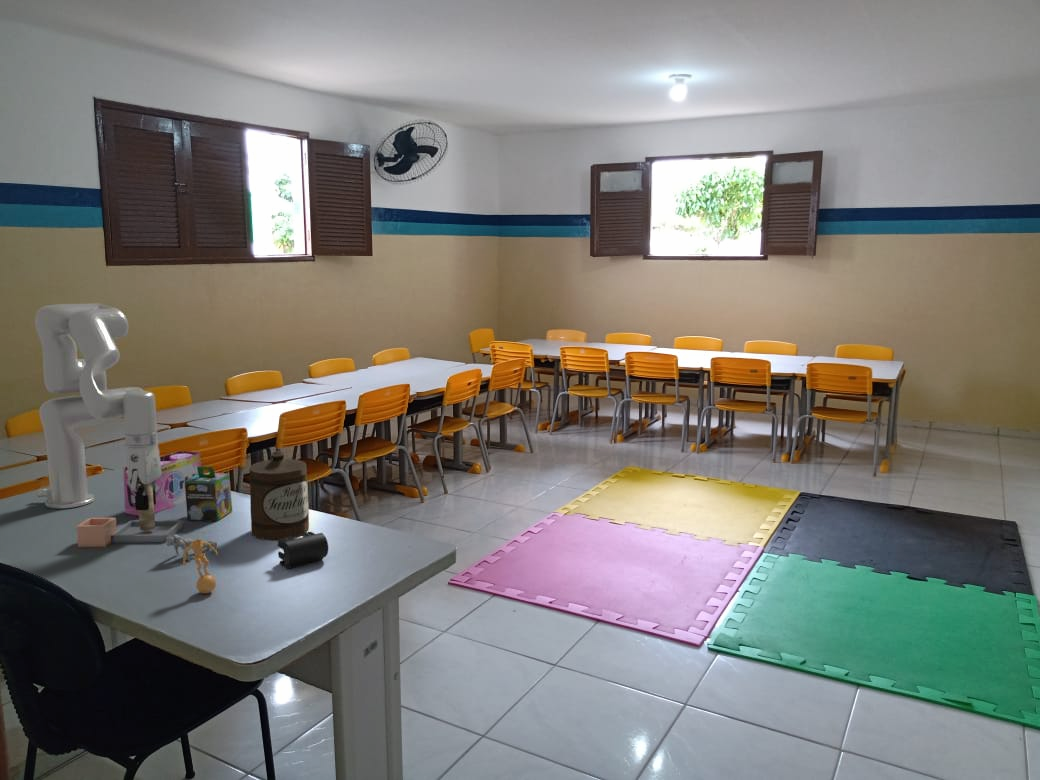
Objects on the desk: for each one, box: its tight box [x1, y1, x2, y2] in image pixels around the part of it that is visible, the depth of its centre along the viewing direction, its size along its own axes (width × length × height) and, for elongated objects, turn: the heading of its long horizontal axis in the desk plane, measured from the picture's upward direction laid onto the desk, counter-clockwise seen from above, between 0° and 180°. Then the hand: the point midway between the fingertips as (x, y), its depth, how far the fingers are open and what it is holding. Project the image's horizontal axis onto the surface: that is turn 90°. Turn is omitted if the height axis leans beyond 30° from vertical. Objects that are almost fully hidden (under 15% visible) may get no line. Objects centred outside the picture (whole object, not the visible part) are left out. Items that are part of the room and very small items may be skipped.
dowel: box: [138, 481, 156, 531], centre depth 204 cm, size 4×4×15 cm
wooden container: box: [249, 450, 310, 541], centre depth 207 cm, size 15×15×22 cm
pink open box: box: [76, 517, 118, 548], centre depth 198 cm, size 7×7×6 cm
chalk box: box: [185, 465, 233, 522], centre depth 219 cm, size 9×9×15 cm
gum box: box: [122, 450, 202, 516], centre depth 229 cm, size 24×8×14 cm, turn 160°
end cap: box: [277, 531, 329, 569], centre depth 186 cm, size 10×7×7 cm
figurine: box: [182, 538, 219, 594], centre depth 169 cm, size 8×6×12 cm
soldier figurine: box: [166, 534, 218, 562], centre depth 190 cm, size 6×5×12 cm
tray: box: [110, 519, 185, 544], centre depth 205 cm, size 14×12×2 cm
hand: (146, 506), depth 204 cm, fingers closed on dowel, 3 cm apart
